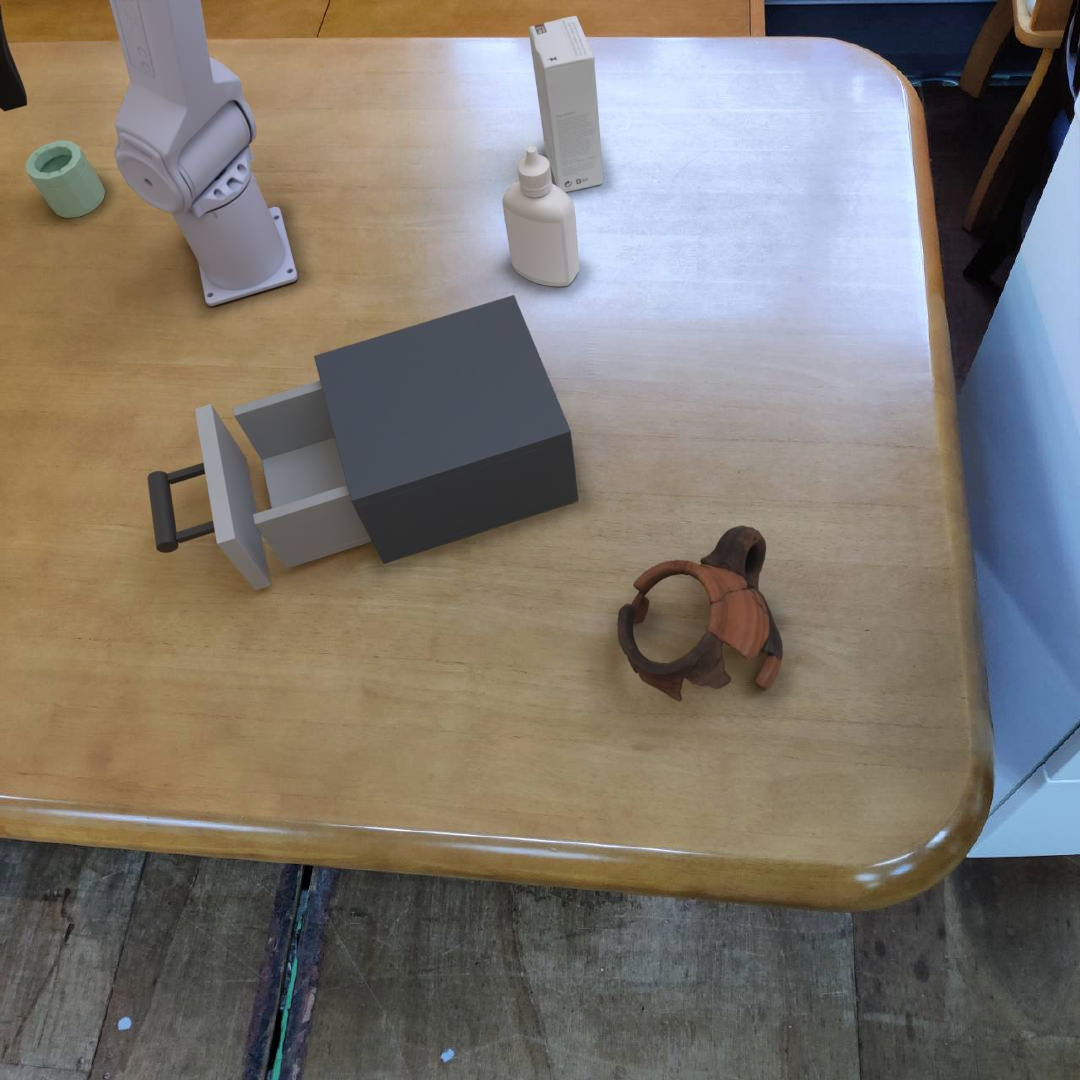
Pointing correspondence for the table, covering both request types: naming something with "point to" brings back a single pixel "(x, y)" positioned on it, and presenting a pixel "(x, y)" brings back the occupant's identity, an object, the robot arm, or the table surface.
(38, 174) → the jar
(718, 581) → the pottery mug
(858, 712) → the table surface
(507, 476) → the cabinet
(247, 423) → the drawer
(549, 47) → the cosmetic box
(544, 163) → the eye dropper bottle
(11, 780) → the table surface
